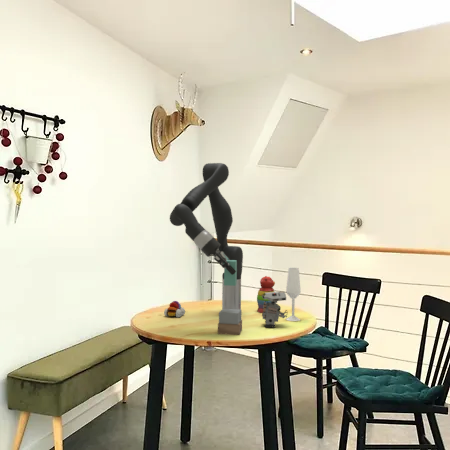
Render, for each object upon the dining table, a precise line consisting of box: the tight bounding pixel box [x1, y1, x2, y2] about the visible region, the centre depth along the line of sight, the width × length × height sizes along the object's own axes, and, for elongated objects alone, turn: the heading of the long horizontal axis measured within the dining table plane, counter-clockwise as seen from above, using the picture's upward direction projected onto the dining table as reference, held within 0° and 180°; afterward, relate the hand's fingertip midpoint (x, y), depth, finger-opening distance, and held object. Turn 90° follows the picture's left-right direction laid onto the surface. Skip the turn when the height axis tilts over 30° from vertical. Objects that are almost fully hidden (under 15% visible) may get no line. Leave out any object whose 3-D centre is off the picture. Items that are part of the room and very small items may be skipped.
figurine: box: [261, 290, 288, 329], centre depth 210 cm, size 9×12×15 cm
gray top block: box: [218, 308, 242, 324], centre depth 198 cm, size 8×8×4 cm
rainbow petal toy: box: [163, 300, 186, 318], centre depth 228 cm, size 8×10×7 cm
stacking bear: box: [256, 275, 276, 314], centre depth 240 cm, size 11×10×18 cm
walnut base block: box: [217, 319, 243, 336], centre depth 198 cm, size 9×9×4 cm
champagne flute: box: [285, 267, 301, 322], centre depth 222 cm, size 7×7×24 cm
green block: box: [223, 260, 237, 286], centre depth 198 cm, size 5×5×10 cm
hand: (235, 272), depth 198 cm, fingers closed on green block, 4 cm apart
